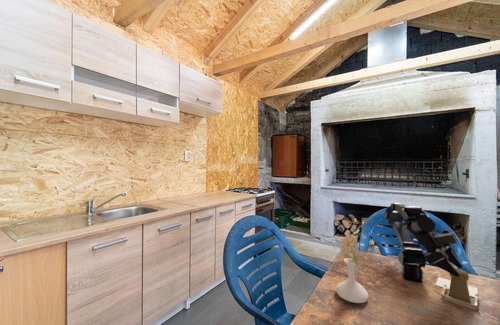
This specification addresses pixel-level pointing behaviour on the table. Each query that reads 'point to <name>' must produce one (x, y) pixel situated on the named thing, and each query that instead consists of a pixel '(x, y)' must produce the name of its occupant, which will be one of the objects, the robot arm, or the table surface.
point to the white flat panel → (442, 282)
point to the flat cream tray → (459, 300)
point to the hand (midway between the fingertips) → (460, 271)
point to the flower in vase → (351, 274)
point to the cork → (459, 286)
